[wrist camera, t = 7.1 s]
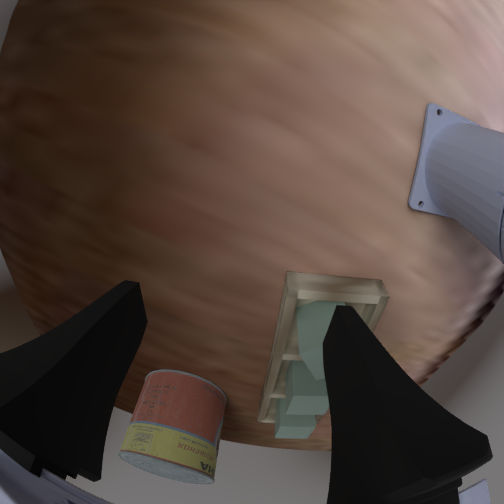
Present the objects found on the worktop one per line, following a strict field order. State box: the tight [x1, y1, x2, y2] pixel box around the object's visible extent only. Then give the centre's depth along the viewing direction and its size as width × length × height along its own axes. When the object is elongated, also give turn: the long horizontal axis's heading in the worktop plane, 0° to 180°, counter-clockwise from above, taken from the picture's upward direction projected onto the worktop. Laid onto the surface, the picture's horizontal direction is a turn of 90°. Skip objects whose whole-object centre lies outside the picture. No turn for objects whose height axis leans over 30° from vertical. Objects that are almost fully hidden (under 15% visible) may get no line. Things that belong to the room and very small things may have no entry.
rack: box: [258, 271, 390, 424], centre depth 25 cm, size 8×23×2 cm, turn 175°
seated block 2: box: [275, 398, 316, 439], centre depth 28 cm, size 4×4×5 cm
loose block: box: [296, 300, 346, 380], centre depth 20 cm, size 4×4×5 cm
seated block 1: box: [286, 360, 329, 415], centre depth 24 cm, size 4×4×5 cm
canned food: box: [118, 369, 227, 484], centre depth 27 cm, size 11×11×12 cm
